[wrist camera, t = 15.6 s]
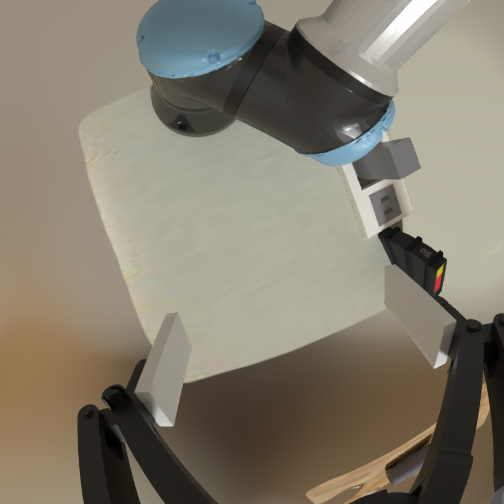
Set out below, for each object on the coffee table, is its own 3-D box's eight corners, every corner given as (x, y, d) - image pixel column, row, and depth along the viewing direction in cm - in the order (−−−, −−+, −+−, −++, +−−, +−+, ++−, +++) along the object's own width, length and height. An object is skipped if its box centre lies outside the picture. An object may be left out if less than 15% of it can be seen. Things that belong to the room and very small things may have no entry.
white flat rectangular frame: (324, 139, 43) (330, 137, 41) (374, 121, 44) (381, 118, 41) (362, 236, 48) (369, 239, 46) (406, 211, 49) (413, 212, 46)
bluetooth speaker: (384, 474, 78) (394, 488, 69) (383, 468, 76) (393, 483, 66) (426, 446, 79) (436, 459, 70) (427, 438, 77) (438, 452, 67)
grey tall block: (348, 154, 44) (388, 147, 33) (369, 144, 45) (410, 137, 33) (359, 179, 46) (400, 179, 34) (379, 169, 46) (421, 167, 34)
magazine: (387, 212, 46) (448, 256, 35) (393, 254, 55) (441, 295, 44) (373, 224, 46) (435, 271, 35) (381, 265, 55) (429, 307, 44)
